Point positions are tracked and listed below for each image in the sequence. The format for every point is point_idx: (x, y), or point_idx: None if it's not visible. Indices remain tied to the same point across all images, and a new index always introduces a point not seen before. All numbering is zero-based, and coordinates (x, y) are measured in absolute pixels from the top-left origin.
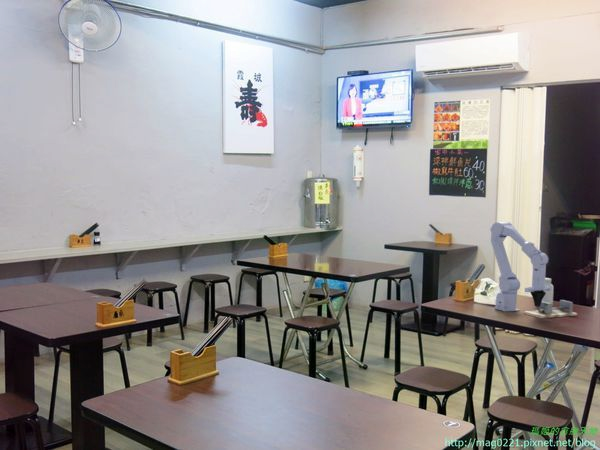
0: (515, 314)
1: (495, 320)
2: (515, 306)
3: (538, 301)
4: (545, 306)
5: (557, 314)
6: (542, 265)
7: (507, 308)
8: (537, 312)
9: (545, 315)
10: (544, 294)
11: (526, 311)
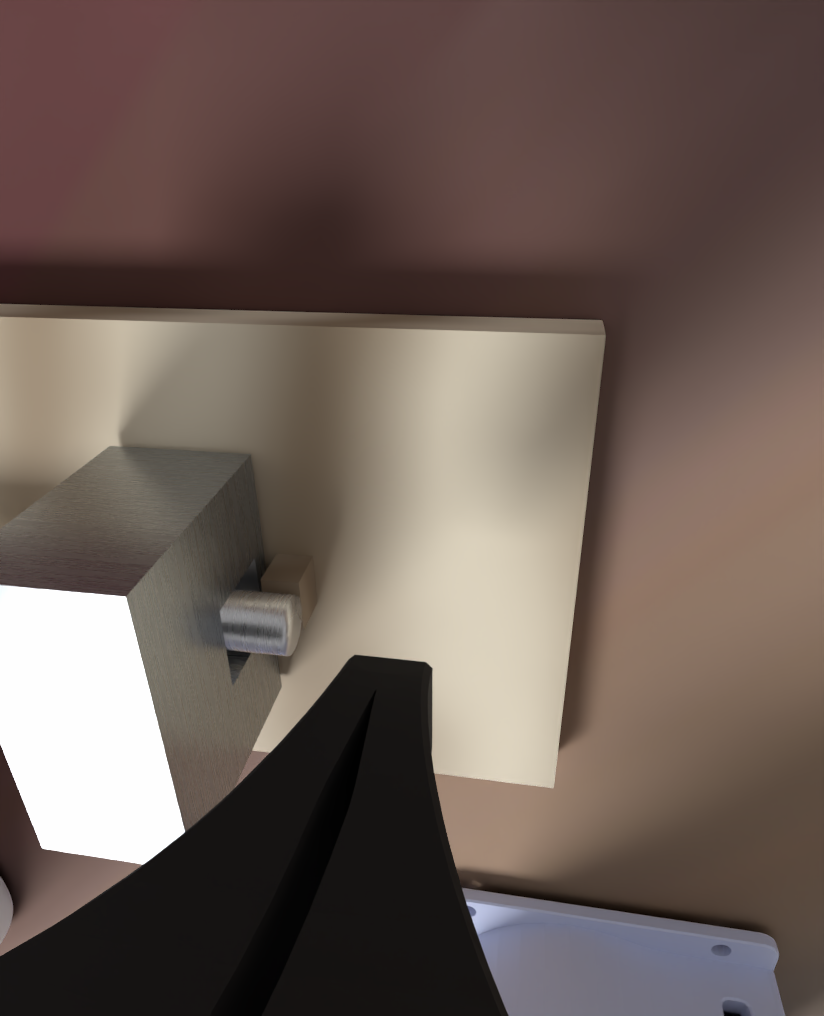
0: (793, 762)
1: None
2: (522, 981)
3: (417, 771)
4: (186, 605)
5: (19, 345)
6: None
7: (696, 986)
8: (345, 639)
9: (399, 350)
10: (52, 976)
11: (503, 765)
